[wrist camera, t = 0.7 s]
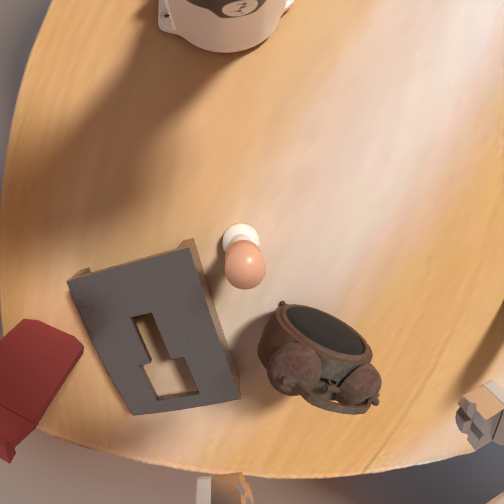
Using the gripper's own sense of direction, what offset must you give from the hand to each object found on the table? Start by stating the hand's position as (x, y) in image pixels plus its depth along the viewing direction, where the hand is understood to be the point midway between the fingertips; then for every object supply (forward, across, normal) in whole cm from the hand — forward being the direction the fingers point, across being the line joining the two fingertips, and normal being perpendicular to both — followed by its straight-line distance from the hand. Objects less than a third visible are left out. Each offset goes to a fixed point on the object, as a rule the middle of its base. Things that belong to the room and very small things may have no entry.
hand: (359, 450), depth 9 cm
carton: (+36, +38, +8) cm, 53 cm away
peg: (+36, +3, 0) cm, 36 cm away
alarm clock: (+36, -3, +14) cm, 39 cm away
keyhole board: (+36, +18, +10) cm, 42 cm away
